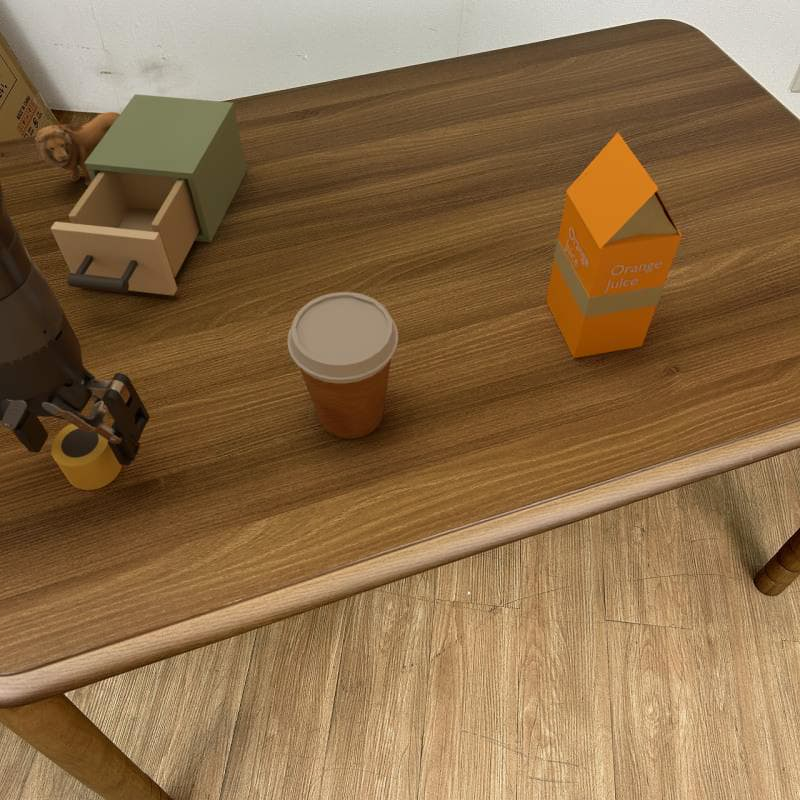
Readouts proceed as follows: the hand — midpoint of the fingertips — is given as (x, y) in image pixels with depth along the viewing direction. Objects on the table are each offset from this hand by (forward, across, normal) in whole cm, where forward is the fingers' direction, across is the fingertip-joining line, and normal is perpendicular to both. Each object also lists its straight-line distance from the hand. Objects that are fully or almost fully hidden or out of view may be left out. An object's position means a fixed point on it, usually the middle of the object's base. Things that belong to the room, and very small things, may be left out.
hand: (84, 450), depth 66 cm
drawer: (+2, -6, +27) cm, 27 cm away
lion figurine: (+3, -18, +44) cm, 47 cm away
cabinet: (+3, -6, +40) cm, 40 cm away
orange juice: (+3, +45, +26) cm, 52 cm away
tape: (+3, 0, 0) cm, 3 cm away
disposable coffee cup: (+3, +22, +10) cm, 24 cm away
